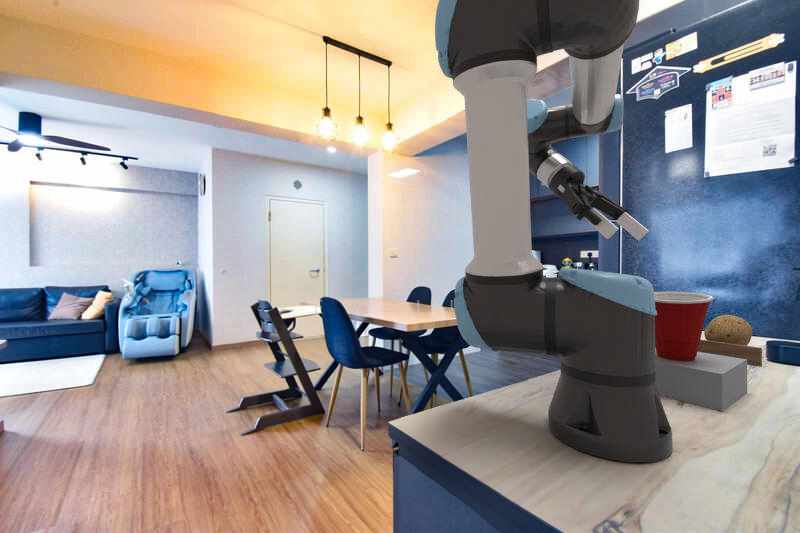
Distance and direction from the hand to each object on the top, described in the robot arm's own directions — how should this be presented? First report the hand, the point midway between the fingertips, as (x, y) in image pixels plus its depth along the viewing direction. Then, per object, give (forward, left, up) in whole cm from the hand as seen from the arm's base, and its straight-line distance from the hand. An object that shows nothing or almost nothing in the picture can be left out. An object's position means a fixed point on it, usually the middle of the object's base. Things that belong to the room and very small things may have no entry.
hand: (629, 234), depth 75 cm
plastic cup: (+4, -7, -24) cm, 25 cm away
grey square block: (+6, -7, -30) cm, 31 cm away
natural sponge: (+34, +20, -30) cm, 49 cm away
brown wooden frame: (+20, +8, -30) cm, 36 cm away
